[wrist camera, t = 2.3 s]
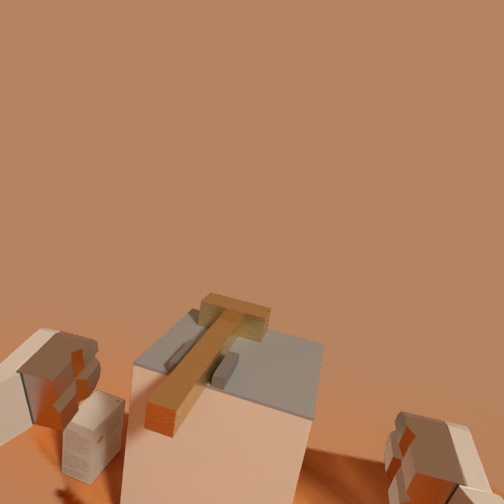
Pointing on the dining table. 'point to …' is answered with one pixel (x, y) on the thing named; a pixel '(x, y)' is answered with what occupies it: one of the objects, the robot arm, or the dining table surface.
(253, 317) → the wooden t-shaped block
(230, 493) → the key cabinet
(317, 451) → the dining table surface
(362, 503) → the dining table surface
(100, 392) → the small box
